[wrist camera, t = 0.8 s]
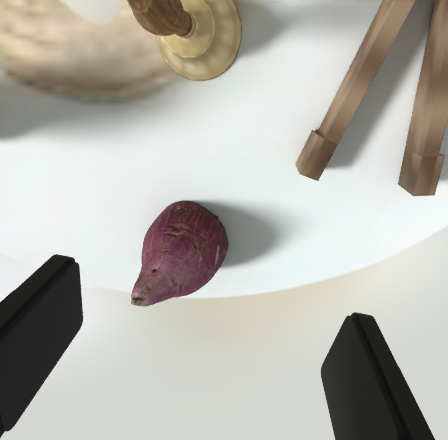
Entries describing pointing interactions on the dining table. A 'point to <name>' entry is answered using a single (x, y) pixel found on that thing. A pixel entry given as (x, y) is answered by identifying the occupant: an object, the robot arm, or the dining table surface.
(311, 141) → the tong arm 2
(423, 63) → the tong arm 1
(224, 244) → the vegetable
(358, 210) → the dining table surface
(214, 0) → the hand bell
